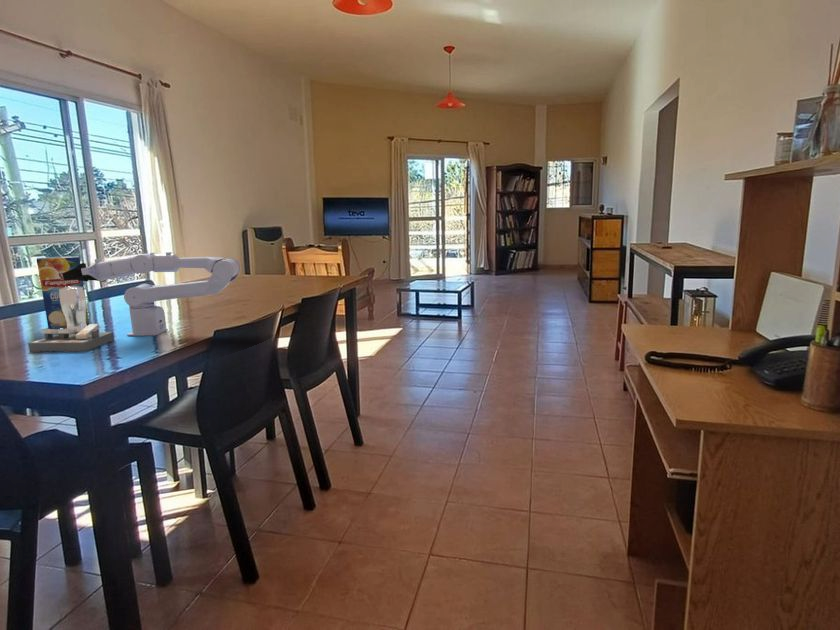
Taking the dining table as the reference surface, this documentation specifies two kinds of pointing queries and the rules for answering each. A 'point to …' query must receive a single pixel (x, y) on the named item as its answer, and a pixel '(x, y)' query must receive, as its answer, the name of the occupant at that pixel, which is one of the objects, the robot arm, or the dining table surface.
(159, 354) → the dining table surface
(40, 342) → the switch unit
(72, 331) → the rocker middle
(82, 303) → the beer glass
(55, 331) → the rocker
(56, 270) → the juice carton
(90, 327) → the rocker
